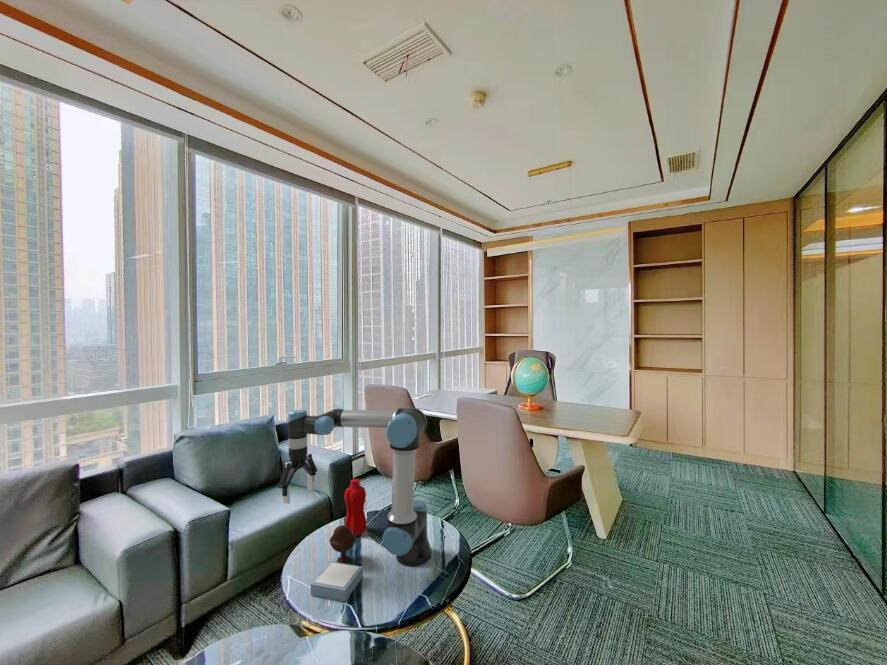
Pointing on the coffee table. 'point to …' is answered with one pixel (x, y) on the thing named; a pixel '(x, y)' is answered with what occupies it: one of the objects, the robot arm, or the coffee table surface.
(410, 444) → the robot arm
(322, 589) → the base plinth
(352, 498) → the water bottle
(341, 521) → the coffee table surface
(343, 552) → the ice cream bowl
